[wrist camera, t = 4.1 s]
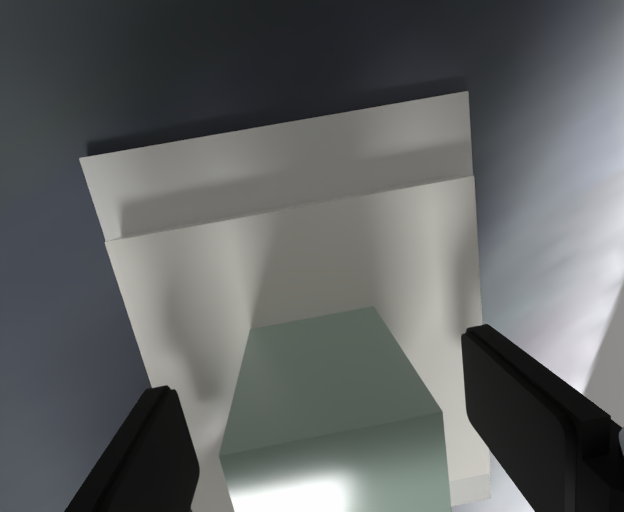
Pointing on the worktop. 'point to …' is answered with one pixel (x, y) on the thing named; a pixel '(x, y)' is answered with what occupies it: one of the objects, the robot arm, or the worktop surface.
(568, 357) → the worktop surface
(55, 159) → the worktop surface
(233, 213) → the mat
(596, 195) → the worktop surface
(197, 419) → the lid
